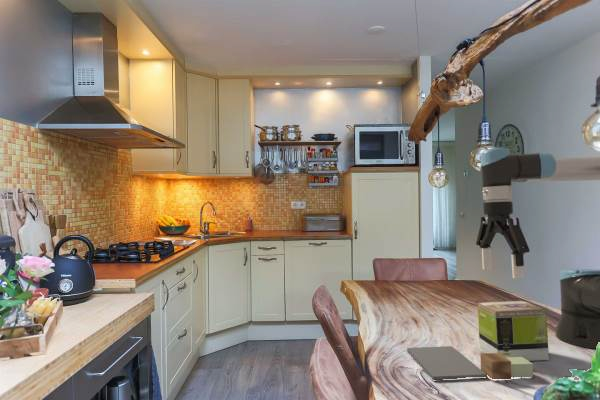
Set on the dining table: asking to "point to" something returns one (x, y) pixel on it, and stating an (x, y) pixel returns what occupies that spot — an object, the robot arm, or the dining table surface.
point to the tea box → (513, 329)
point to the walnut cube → (496, 366)
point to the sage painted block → (520, 367)
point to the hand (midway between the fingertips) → (501, 273)
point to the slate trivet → (444, 363)
